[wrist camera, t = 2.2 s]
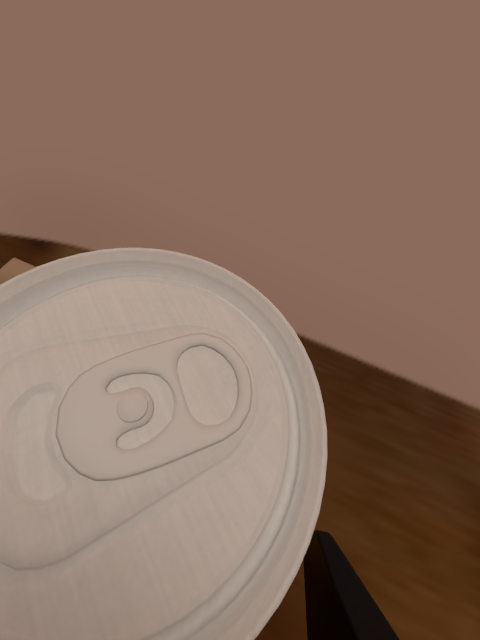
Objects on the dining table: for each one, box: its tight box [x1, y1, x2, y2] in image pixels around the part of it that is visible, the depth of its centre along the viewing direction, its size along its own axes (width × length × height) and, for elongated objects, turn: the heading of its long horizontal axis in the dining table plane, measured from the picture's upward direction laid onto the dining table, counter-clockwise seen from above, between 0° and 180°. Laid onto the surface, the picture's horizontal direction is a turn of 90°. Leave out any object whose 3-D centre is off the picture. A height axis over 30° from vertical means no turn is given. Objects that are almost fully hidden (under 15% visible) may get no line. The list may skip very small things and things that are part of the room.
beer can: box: [0, 248, 327, 640], centre depth 10 cm, size 6×6×15 cm
